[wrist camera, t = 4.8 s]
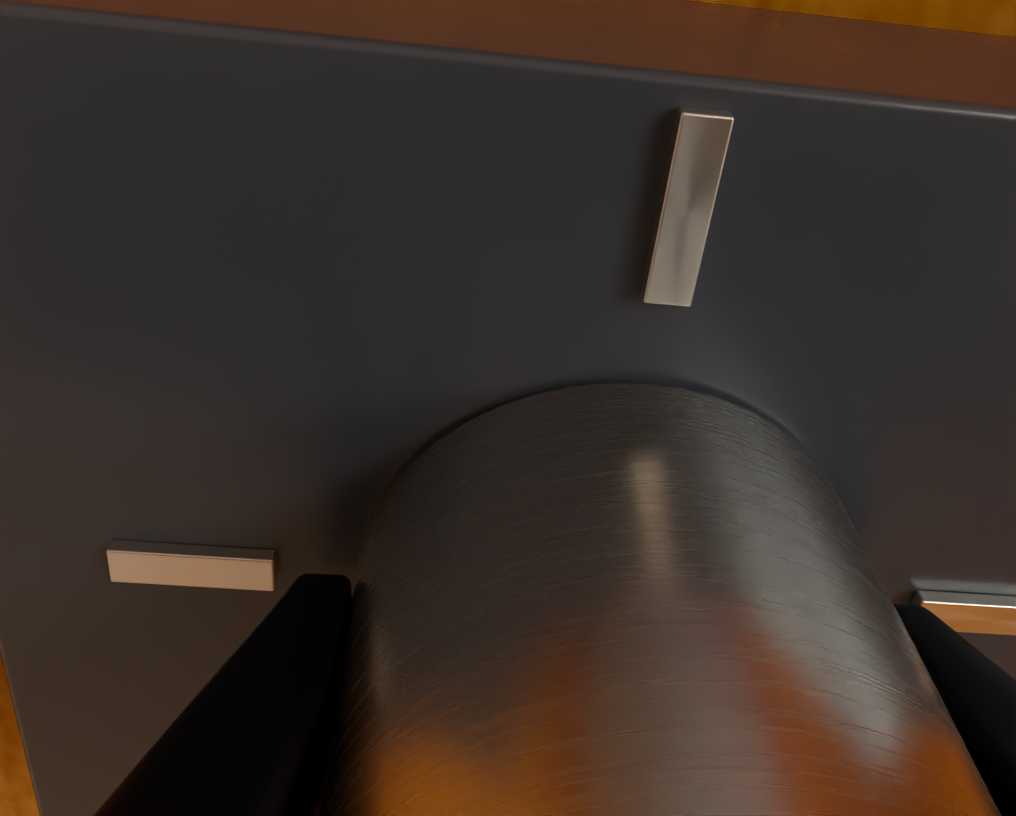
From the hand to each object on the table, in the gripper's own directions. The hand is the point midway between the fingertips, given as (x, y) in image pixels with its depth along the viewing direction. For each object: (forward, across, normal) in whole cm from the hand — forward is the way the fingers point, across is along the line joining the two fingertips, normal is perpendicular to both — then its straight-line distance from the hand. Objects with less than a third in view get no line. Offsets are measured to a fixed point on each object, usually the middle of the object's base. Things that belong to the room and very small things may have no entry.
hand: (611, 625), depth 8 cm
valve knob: (0, 0, 0) cm, 0 cm away
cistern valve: (+4, 0, 0) cm, 4 cm away
